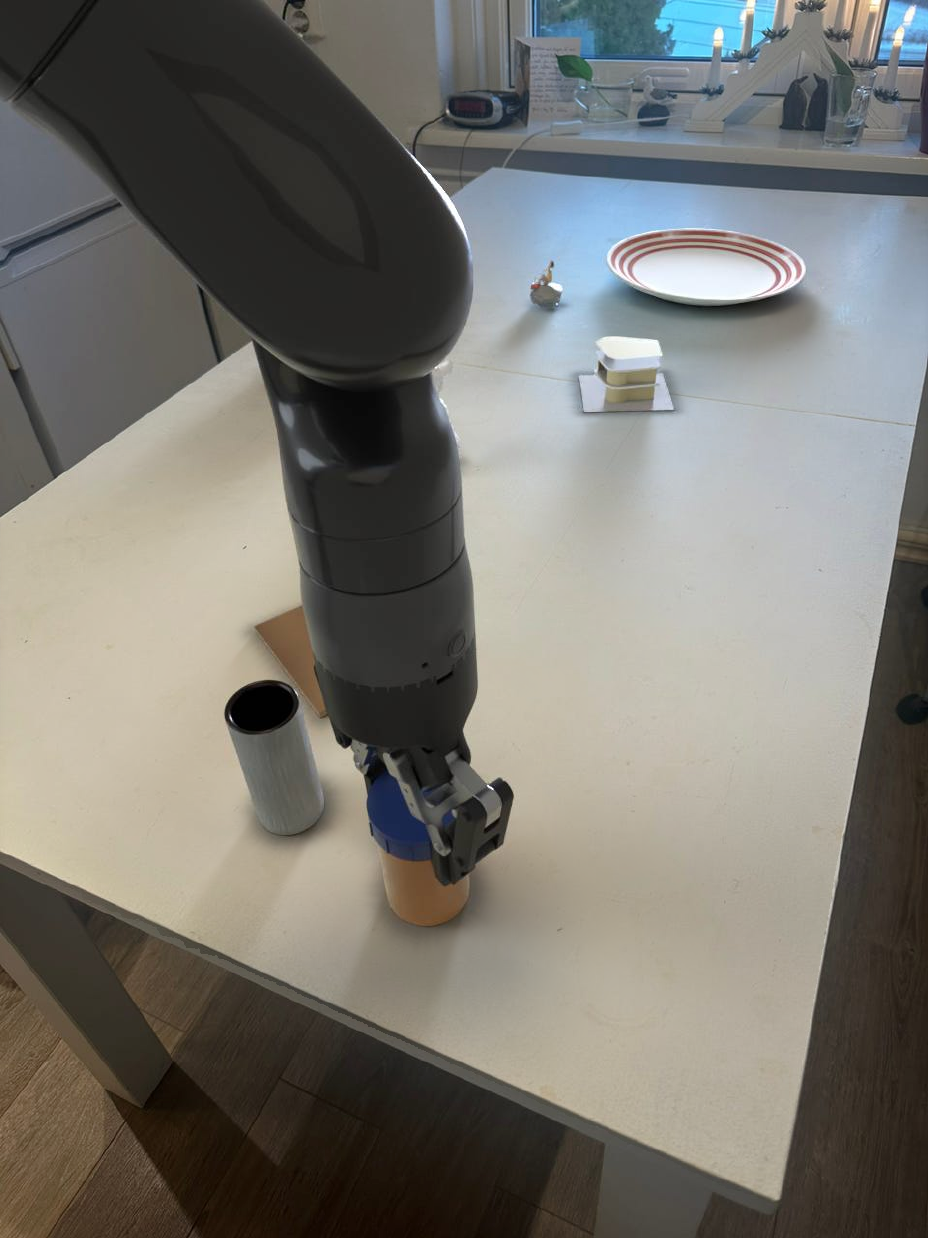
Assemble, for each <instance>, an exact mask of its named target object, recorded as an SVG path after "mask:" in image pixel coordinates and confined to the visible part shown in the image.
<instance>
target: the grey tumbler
mask: <svg viewBox="0 0 928 1238" xmlns="http://www.w3.org/2000/svg"><path fill="white" fill-rule="evenodd" d="M223 710H224V712H223V718H224V721H225V724H226V727H227V730H228V732H229V736H230V739H231V742H232V745H233V747H234V750H235V754H236V757H237V760H238V763H239V765H240V768H241V771H242V774H243V777H244V781H245V784H246V786H247V789H248V792H249V795H250V798H251V801H252V804H253V807H254V811H255V813H256V815H257V818H258V821H259V823H260V824H261V826H262V827H263V828H264V830H267V831H268V832H270V833H272V834H274V835H279V836H291V835H292V836H293V835H297V834H299V833H302V832H304V831H306V830H308V829H310V828H311V827H312V826H314V825H315V824H316V822H318V820H319V819H320V817H321V816H322V814H323V811H324V808H325V799H324V798H325V797H324V792H323V789H322V784H321V780H320V776H319V772H318V768H317V764H316V760H315V756H314V752H313V748H312V744H311V739H310V736H309V732H308V728H307V724H306V719H305V715H304V711H303V707H302V703H301V700H300V696H299V694H298V692H297V690H296V689H295V688H294V687H293V686H292V685H290V684H288V683H287V682H284V681H281V680H277V679H262V680H257V681H254V682H250V683H247V684H246V685H244V686H242V687H241V688H239V689H237V690H236V691H235V692H234V693H233V694H232V695H231V696H230V697H229V699H228V700H227V702H226V704H225V707H224V709H223Z"/></svg>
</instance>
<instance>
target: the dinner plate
mask: <svg viewBox="0 0 928 1238" xmlns="http://www.w3.org/2000/svg"><path fill="white" fill-rule="evenodd" d="M605 263H606V266H607V268H608V269H609V271H610V272H611V273H612V275H614V277H616V278H617V279H618V280H619V281H621V282H622V283H624V284H626V285H628V286H629V287H630V288H633V289H635V290H637V291H640V292H642V293H644V294H647V295H650V296H654V297H657V298H660V299H662V300H665V301H669V302H672V303H673V302H674V303H678V304H684V305H690V306H699V307H700V306H702V307H719V306H721V307H722V306H731V305H736V304H737V305H738V304H741V303H749V302H755V301H759V300H762V299H767V298H769V297H773V296H776V295H780V294H783V293H786V292H788V291H790V290H792V289H794V288H795V287H797V286H798V285H800V284H801V283H802V282H803V281H804V279H805V278H806V276H807V265H806V263H805V261H804V259H803V258H801V256H799V255H798V254H797V253H796V252H794V251H793V250H791V249H790V248H788V247H786V246H784V245H782V244H780V243H778V242H776V241H773V240H770V239H767V238H764V237H761V236H758V235H753V234H748V233H743V232H739V231H732V230H726V229H725V230H724V229H713V228H671V229H670V228H669V229H661V230H653V231H648V232H643V233H638V234H635V235H631V236H628V237H627V238H624V239H622V240H620V241H618V242H617V243H615V244H614V245H613V246H611V248H609V250H608V252H607V253H606V256H605Z"/></svg>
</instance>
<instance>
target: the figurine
mask: <svg viewBox="0 0 928 1238" xmlns="http://www.w3.org/2000/svg"><path fill="white" fill-rule="evenodd" d="M548 264H549V265H548V266H547V267H545V268H544V269H543V271H542V273H540V274H539V276H540V278H539V279H538V277H539V276H535V277H533V278H532V280H534V281H535V282H532V283H531V284H530V288H529V289H530V292H529V297H530V301H531V303H532V304H533V305H536V306H537V305H538V306H539V307H540V308H554V309H555V308H557V307H558V305H559V303H560V301H561V299H562V298H561V297H562V293H563V287H562V286H561V285H560V284H557V283H554V282H552V280H553V273H552V269H555V261H554V260H553V259H551V260H550V261H549V263H548Z"/></svg>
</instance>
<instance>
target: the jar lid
mask: <svg viewBox="0 0 928 1238" xmlns="http://www.w3.org/2000/svg"><path fill="white" fill-rule="evenodd" d="M442 786H443V785H442ZM440 787H441V786H440ZM440 787H437V788H435V789H433V790H431V791H429V792H422V794H423V797H424V798H426V797H427V796H428V795H430V794H431V793H433V792H434V791H436V790H437V789H439V788H440ZM451 811H452V810H451ZM451 811H449V812H448V813H446V814H445V815H444V816H443V819H442V822H443V825H444V826H446V825H447V824H448V823H450V822H451V821H453V820H454V819H455V817H454V816H453V815H452V812H451ZM366 813H367V817H368V826H369V832H370V836H371V837H373V839H374V840H375V842H376V844H377V843H378V845H379V846H380V847H381V848H382V849H384V850H385V851H386V853H387V854H388V853H389V854H391V855H393V856H395V857H398V858H401V859H405V860H411V861H420V860H427V859H432V850H431V842H432V841H431V839H430V836H429V834H428V831H427V829H426V826H425V824H424V823H422V822H421V821H419V820H418V819H416V818H415V817H413V816H412V815H411V813H410V811H409V808H408V806H407V803H406V801H405V798H404V796H403V793H402V791H401V788H400V786H399V783H398V781H397V779H396V778H395V777H393V776H392V775H390V773H389V771H388V770H386V771H385V772H383V773H382V774H381V775H380V776H379V777H378V778H377V779H376V780H375V781H374V783H373V784H372V786H371V788H370V790H369V793H368V795H367V797H366ZM378 845H377V846H378Z"/></svg>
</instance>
